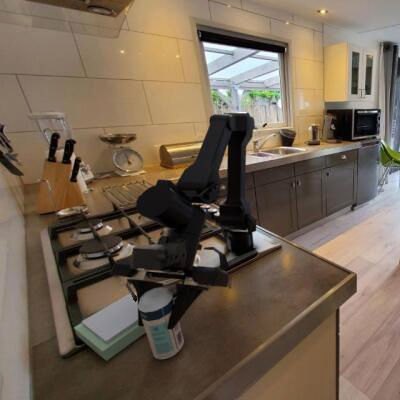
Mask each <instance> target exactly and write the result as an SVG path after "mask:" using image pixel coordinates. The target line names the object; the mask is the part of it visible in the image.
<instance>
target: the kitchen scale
mask: <svg viewBox="0 0 400 400" xmlns="http://www.w3.org/2000/svg"><path fill="white" fill-rule="evenodd" d="M133 292H134V293H135V295H136V296H137V292H136V291H133ZM131 293H132V292H130V293H128V294H127V295H125V296H123V297H121V298H119V299H118V300H115V302H113V303H110V304H109V305H107V306H106V307H104V308H102V309H100V310H99V311H97V312H95V313H94V314H92V315H89V316H88V317H87V318H85V319H83V320H82V321H81V322H80V323H79V324H77V325H76V326H74V327H73V329H74V331H75V333H76V336H77V337H78V338H79V339H80V340H81V341H82V342H84V344H86V346H87V347H89V348H90V349H92V350H93V351H94V352H95V353H96V354H98V355H99V356H100V357H101V358H102V359H104V360H105V362H108V361H109V360H111V358H113V357H115V356H116V355H117V354H119V353H120V352H121V351H122V350H124V349H125V348H127V347H128V346H129V345H131V344H132V343H134V342H135V341H136V340H137V339H139V338H140V337H142V336H143V335H145V334H147V333H146V330H145V327H144V326H138V300H137V301H136V302H135V301H134V300H133V297H132V295H131Z"/></svg>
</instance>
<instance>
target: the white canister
mask: <svg viewBox="0 0 400 400" xmlns="http://www.w3.org/2000/svg"><path fill="white" fill-rule="evenodd" d="M174 303H175V300H174V296H173V292H171V291H170V290H169V289H168V288H166V287H164V286H163V287H160V288H154V289H152V290H150V291H148V292H146V293H145V294H144V295H143V296H142V297H141V298H140V301H139V304H138V308H139V311H140V315H141V318H142V321H143V324H144V327H145V330H146V333H145V334H146V336H147V340H148V343H149V345H150V350H151V352H152V355H153V357H154V358H155V359H156V360H165V359H169V358H172V357H174V356H176V355H177V353H179V352H180V350H181V349H182V348H183V346H184V343H185V341H184V340H185V339H184V337H183V334H182V329H181V325H180V321H179V322H178V323H177V324H176V326H175V327H174V328H173V329H171V330H168V323H169V319H170V315H171V312H172V309H173V306H174Z"/></svg>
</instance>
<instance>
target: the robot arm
mask: <svg viewBox="0 0 400 400" xmlns="http://www.w3.org/2000/svg"><path fill="white" fill-rule="evenodd" d="M255 124H256V123H255V118H254V117H253V116H251V115H250V112H247V111H245V112H243V111H225V112H223V113H214V114H212V115H210V117H209V126H208V129H207V131H206V133H205V135H204V138H203V141H202V144H201V146H200V148H199V151H198V153H197V155H196V158H195V161H194V162H193V163H191V164H190V165H189V166H188V167H187V168H184V170H183V171H182V173H181V174H180V177H179V178H178V180H177V182H176V183H174V182H173V181H172V180H170V179H162V178H161V179H157V180H156V184H155V185H152V186H149V187H148V188H147V189H145V190H144V191H143V192H142V193H141V194H140V195H139V196H138V197H137V199H136V203H135V208H136V211H137V213H138V214H139V215H140V216H141V217H143V218H145V219H148V220H150V221H151V222H154V223H156V224H158V225H160V226H162V227H164V228H167V233H166V235H160V237H158V240H157V243H153V244H144V245H138V246H132V250H131V258H130V259H122V258H120V259H119V260H118V261H116V262H114V264H113V266H112V269H111V271H110V273H109V275H110V276H115V277H122V278H126V282H127V283H130V284H131V285H132V287H133V288H134V289H135V292H137V300H138V304H139V301H140V298H141V297H142V296H143V295H144V294H145V293H146V292H148V291H150V290H152V289H154V288H160V287H163V288H164V284H165V283H163V282H158V279H159V278H160V279H170V280H180V281H184V283H175V288H176V297H175V300H174V306H173V309H172V312H171V315H170V319H169V323H168V330H171V329H173V328H174V327H175V326H176V324H177V323H178V322H179V323H180V320H181V319H182V318H183V316H184V315H185V314H186V312H187V311H188V310H189V308H190V307H191V306H192V304H193V303H194V302H195V301H196V300H197V299H198V297H199V296H201V294H202V293H203V292H204V291H206V292H207V291H209V287H208V285H209V286H211V287H219V288H227V287H228V283H229V279H230V277H229V274H228V271H227V270H224V269H221V268H218V267H215V266H213V267H212V266H203V265H202V266H201V265H197V266H195V265H194V263H195V260H196V256H197V253H198V251H202V249H203V245H202V244H200V243H201V238H202V235H203V232H204V228H205V224H206V221H208V222H210V221H212V216H211V214H210V212H209V211H208V207H202V206H199V205H197V204H200V205H213V204H214V203H217V201H218V199H219V198H220V196H221V191H222V190H221V188H222V179H221V176H220V168H221V166H222V164H223V163H222V162H223V161H224V160H223V159H224V157H225V154H226V150H227V159H226V160H227V162H226V163H227V164H226V168H227V171H226V199H225V200H224V201H223V203H222V204H219V206H218V220H217V221H218V224H219V228H220V229H221V231H222V233H223V234H224V233H227V236H226V243H227V248H228V251H230V252H231V253H233V254H234V256H236V257H238V256H240V255H244V254H246V253H248V252H252V251H253V250H256V249H257V245H255V244H254V234H253V233H255V232H257V225H258V224H257V219H256V218H255V217H254V216H253V215H252V211H251V209H252V207H251V206H250V204H249V203H248V201H247V199H246V176H247V175H246V170H247V169H246V168H247V146H248V145H249V143H250V142H251V140H252V139H253V135H254V130H255V126H256V125H255ZM179 271H180V272H179ZM138 326H144V324H143V321H142V318H141V315H140V311H139V308H138Z"/></svg>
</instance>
